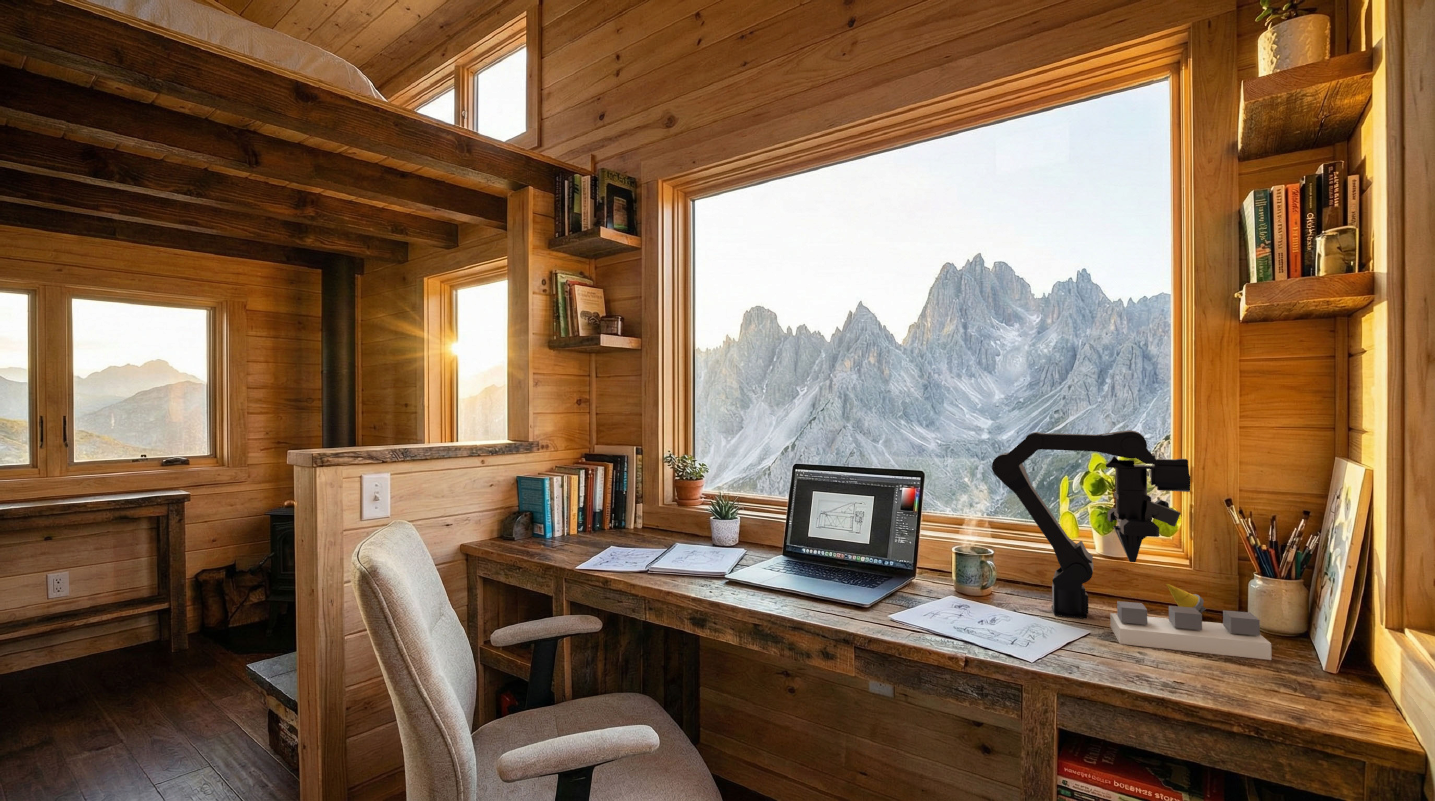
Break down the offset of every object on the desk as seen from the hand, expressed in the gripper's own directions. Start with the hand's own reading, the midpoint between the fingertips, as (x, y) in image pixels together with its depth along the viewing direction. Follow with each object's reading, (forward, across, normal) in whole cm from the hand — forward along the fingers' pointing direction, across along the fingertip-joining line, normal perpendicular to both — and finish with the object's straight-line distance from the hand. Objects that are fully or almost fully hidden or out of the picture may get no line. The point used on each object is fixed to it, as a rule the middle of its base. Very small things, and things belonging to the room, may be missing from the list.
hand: (1132, 561), depth 141 cm
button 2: (+13, -10, -16) cm, 23 cm away
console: (+13, -10, -7) cm, 18 cm away
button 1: (+13, -10, +2) cm, 17 cm away
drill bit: (+13, +9, -12) cm, 20 cm away
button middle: (+13, -10, -7) cm, 18 cm away
